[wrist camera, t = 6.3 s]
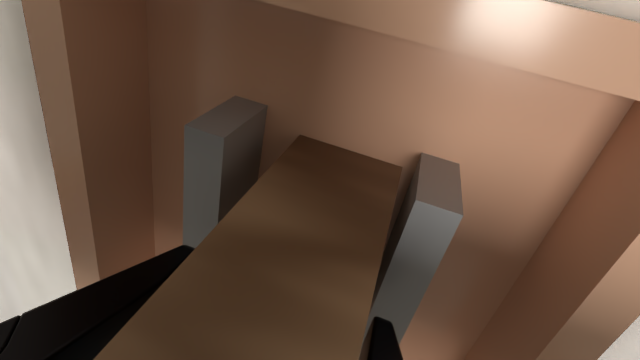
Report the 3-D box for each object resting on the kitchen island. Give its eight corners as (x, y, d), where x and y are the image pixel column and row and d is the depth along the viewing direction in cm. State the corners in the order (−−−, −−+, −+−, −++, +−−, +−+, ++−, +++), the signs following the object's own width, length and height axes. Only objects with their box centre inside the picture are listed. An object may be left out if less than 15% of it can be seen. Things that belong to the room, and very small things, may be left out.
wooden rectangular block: (402, 167, 10) (318, 527, 4) (356, 292, 13) (258, 638, 6) (299, 134, 11) (55, 401, 4) (275, 261, 13) (100, 554, 7)
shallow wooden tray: (711, 39, 8) (868, 77, 5) (456, 398, 15) (459, 501, 12) (129, -99, 10) (-4, -129, 7) (148, 277, 17) (86, 341, 14)
